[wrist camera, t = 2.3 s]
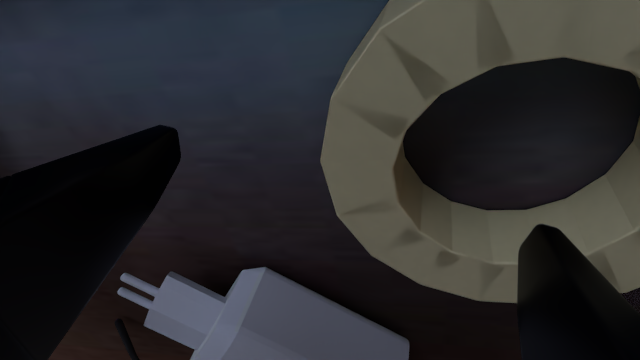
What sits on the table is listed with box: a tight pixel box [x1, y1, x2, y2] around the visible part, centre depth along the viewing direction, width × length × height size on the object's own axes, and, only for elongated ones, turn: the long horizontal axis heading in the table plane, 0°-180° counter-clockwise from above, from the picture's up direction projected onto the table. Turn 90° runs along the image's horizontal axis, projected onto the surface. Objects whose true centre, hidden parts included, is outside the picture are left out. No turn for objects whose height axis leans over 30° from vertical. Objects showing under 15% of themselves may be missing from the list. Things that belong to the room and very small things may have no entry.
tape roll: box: [320, 0, 640, 303], centre depth 11 cm, size 11×11×3 cm
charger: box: [118, 267, 409, 360], centre depth 21 cm, size 5×9×15 cm
